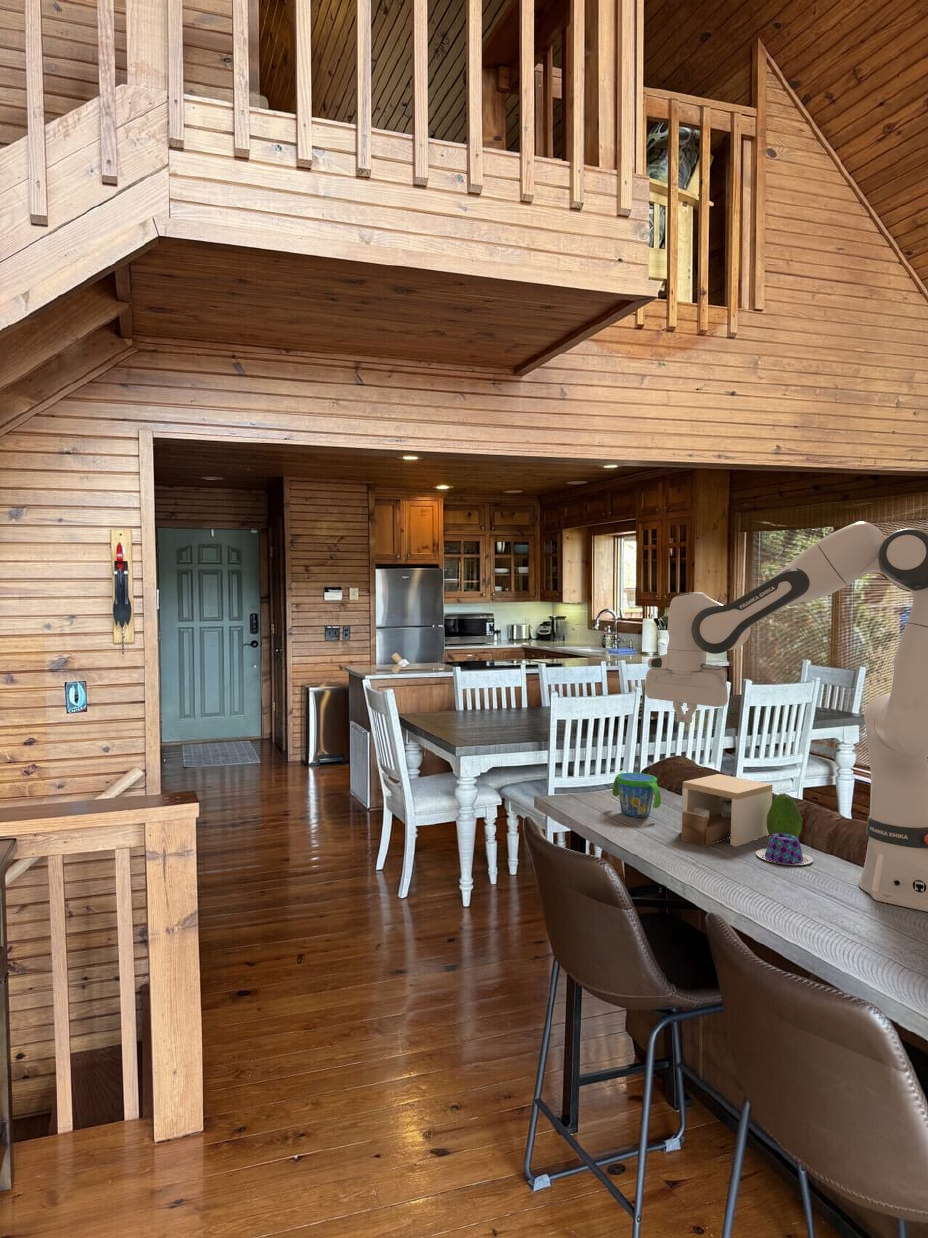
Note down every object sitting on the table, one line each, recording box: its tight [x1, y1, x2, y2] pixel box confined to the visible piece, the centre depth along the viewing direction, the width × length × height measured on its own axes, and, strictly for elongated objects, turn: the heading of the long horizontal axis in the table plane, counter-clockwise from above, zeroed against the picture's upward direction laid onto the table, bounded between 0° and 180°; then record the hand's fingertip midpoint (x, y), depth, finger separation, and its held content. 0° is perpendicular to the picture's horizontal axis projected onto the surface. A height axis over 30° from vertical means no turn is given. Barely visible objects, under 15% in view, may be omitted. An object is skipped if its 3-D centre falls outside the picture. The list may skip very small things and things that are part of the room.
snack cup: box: [611, 772, 662, 818], centre depth 222 cm, size 16×10×10 cm
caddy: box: [681, 800, 732, 847], centre depth 202 cm, size 6×19×8 cm, turn 132°
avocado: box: [766, 792, 803, 838], centre depth 198 cm, size 8×8×12 cm
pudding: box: [755, 833, 814, 866], centre depth 186 cm, size 12×12×5 cm
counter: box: [680, 773, 773, 847], centre depth 205 cm, size 15×16×12 cm
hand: (684, 722), depth 192 cm, fingers closed
